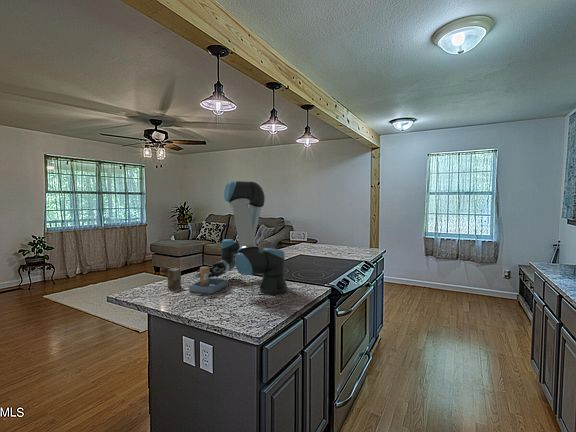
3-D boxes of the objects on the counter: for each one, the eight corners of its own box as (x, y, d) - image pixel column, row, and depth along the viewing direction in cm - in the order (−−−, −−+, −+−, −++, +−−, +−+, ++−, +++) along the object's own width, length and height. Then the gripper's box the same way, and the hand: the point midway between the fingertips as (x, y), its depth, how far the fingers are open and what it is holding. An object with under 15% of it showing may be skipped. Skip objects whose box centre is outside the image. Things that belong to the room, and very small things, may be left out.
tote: (227, 285, 182) (227, 279, 182) (212, 294, 165) (212, 287, 165) (206, 283, 186) (206, 277, 186) (189, 291, 169) (189, 285, 169)
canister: (211, 284, 173) (211, 266, 172) (206, 287, 168) (206, 268, 168) (203, 284, 174) (203, 266, 174) (198, 286, 170) (198, 268, 169)
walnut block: (180, 286, 180) (180, 268, 179) (175, 288, 175) (175, 270, 174) (173, 285, 181) (173, 268, 180) (167, 287, 176) (167, 270, 176)
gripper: (234, 275, 186) (215, 285, 164) (206, 272, 191) (184, 282, 168) (234, 262, 186) (215, 271, 163) (206, 260, 190) (184, 268, 168)
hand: (199, 277), depth 166 cm, fingers closed on canister, 5 cm apart
